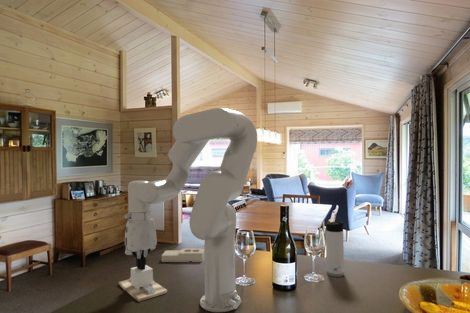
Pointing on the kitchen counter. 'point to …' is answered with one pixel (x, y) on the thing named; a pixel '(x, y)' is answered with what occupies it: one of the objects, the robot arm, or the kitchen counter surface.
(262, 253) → the kitchen counter surface
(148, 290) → the steel rail
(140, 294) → the mounting board
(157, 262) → the kitchen counter surface
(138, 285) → the white cube
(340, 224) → the travel mug
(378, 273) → the kitchen counter surface
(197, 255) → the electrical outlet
